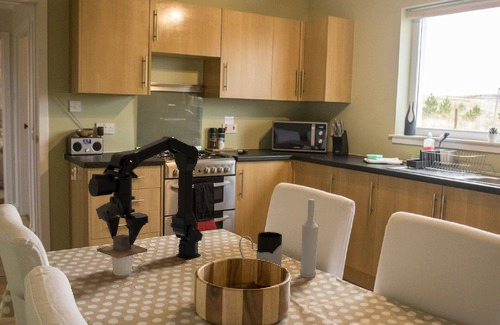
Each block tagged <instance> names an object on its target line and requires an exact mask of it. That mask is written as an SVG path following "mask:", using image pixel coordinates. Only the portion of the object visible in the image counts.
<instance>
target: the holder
mask: <svg viewBox="0 0 500 325" xmlns="http://www.w3.org/2000/svg"><path fill="white" fill-rule="evenodd" d="M243 238H248V239H249V241H250V242H251V249H252V251H253V252H256V256H255V257H256V258H255V260H256V259H260V260H265V261H269V262H272V263H275V264H278V265H280V266H281V267H282V261H283V259H282V258H283V234H282V233H280V232H276V231H261V232H258V234H257V248H256V249H254V240H253V239H252V238H251V237H250V236H248V235H243V236H242V237H241V238H239V242H238V248H239V249H238V250H239V252H240V255H241V258H242V259H243V258H245V256H244V253H243V252H242V246H241V243H242V240H243Z"/></svg>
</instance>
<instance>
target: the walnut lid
mask: <svg viewBox="0 0 500 325" xmlns="http://www.w3.org/2000/svg"><path fill="white" fill-rule="evenodd" d="M96 250H97V253H98V252H99V253H101V254H104V255H107V256H110V257H111V258H112V257H115V258H118V259H119V258H123V257H127V256H131V255H133V256H135V255H138V254H142V253H146V252H148V248H145V247H142V246H139V245H136V244H133V245H130V242H129V234H128V235H127V234H124V233H123V234H118V235H116V236H113V239H112V245H108V246H104V247H99V248H96Z"/></svg>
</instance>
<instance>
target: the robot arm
mask: <svg viewBox="0 0 500 325" xmlns="http://www.w3.org/2000/svg"><path fill="white" fill-rule="evenodd" d="M164 152H168V153H170V154H172V155H173V158H174V163H175V166H176V168H177V170H178V179H177V180H178V183H177V184H178V186H177V187H178V188H177V191H178V192H177V212H175V215H172V216H171V225H170V227H171V228H172V232H173V233H175V238H176V239H179V244H178V253H176V254H175V256H176V257H179V258H182V259H184V260H185V259H186V260H191V259H194V258H198V257H201V256H202V254H201V253H199V242H200V241H201V242H202V239H203V236H204V234H203V233H202V232H201V231H200V230H199V229H198V227H197V220H196V216H195V214H194V212H193V186H194V185H193V184H194V170H195V168H196V166H197V164H198V161H199V152H200V151H199V149H198V148H197V147H196V146H195V145H193V144H192V145H191V144H187V143H185V142H182V141H181V140H178V139H177V138H175V136H169V135H167V136H163V137H161V138H160V139H157V140H154V141H152V142H149V143H148V144H145V145H143V146H141V147H140V146H139V147H138V148H135V149H130V150H123V151H119V152H118V151H117V152H115V153H113V154H112V155H111V158H110V161H109V163H108V164H107V166H106V167H105V169H104V170H103V172H102V173H91V178H90V179H89V182H88V184H87V189H88V193H89V195H90V196H91V197H93V198H95V197H102V196H104V197H105V196H109V201H108V202H106V203H103V205H100V206H99V207H97V208H96V209H95V210H96V214H97V217H98V220H102V221H103V222H105V223H106V225H107V228H108V231H109V234H110V237H111V239H112V240H113V236H117V234H118V230H119V225H120V221H121V219H124V222H125V223H126V224H125V225H124V226H125V227H126V229H128V236H129V242H130V245H135V242H136V241H137V238H138V236H139V234H140V232H141V230H142V228H143V227H144V226H146V224H149V215H147V214H146V213H143V212H135V211H136V210H135V208H133V201H134V200H136V196H134V195H133V179H138V178H139V175H138V174H137V173H135V172H134V170H136V169H137V168H138V167H140V166H141V164H142V163H143V162H144V161H147V160H149V159H151V158H154V157H156V156H157V155H160V154H163V153H164ZM110 195H111V196H110Z"/></svg>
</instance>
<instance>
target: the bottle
mask: <svg viewBox="0 0 500 325" xmlns="http://www.w3.org/2000/svg"><path fill="white" fill-rule="evenodd" d="M307 200H308V201H307V218H306V220H305V222H304V223H302V225H301V226H302V227H301V254H300V255H301V258H300V260H301V262H300V270H299V275H300V276H301V277H303V278H307V279H312V278H313V279H314V278H315V277H316V275H317V269H316V268H317V251H318V236H319V225H318V224H317V223H316V221H315V202H316V200H315V199H313V198H308V199H307Z"/></svg>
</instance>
